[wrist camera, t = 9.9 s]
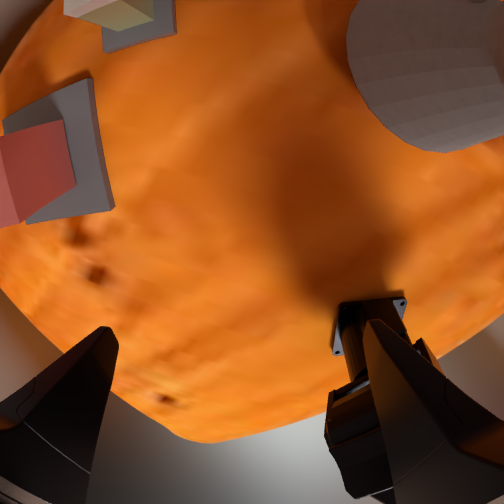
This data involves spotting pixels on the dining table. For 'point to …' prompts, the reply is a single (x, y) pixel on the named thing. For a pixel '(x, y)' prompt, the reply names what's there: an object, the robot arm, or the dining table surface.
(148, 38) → the grey base with block
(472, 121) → the coffee pot
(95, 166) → the grey plate with post
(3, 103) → the dining table surface
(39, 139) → the red rectangular block
